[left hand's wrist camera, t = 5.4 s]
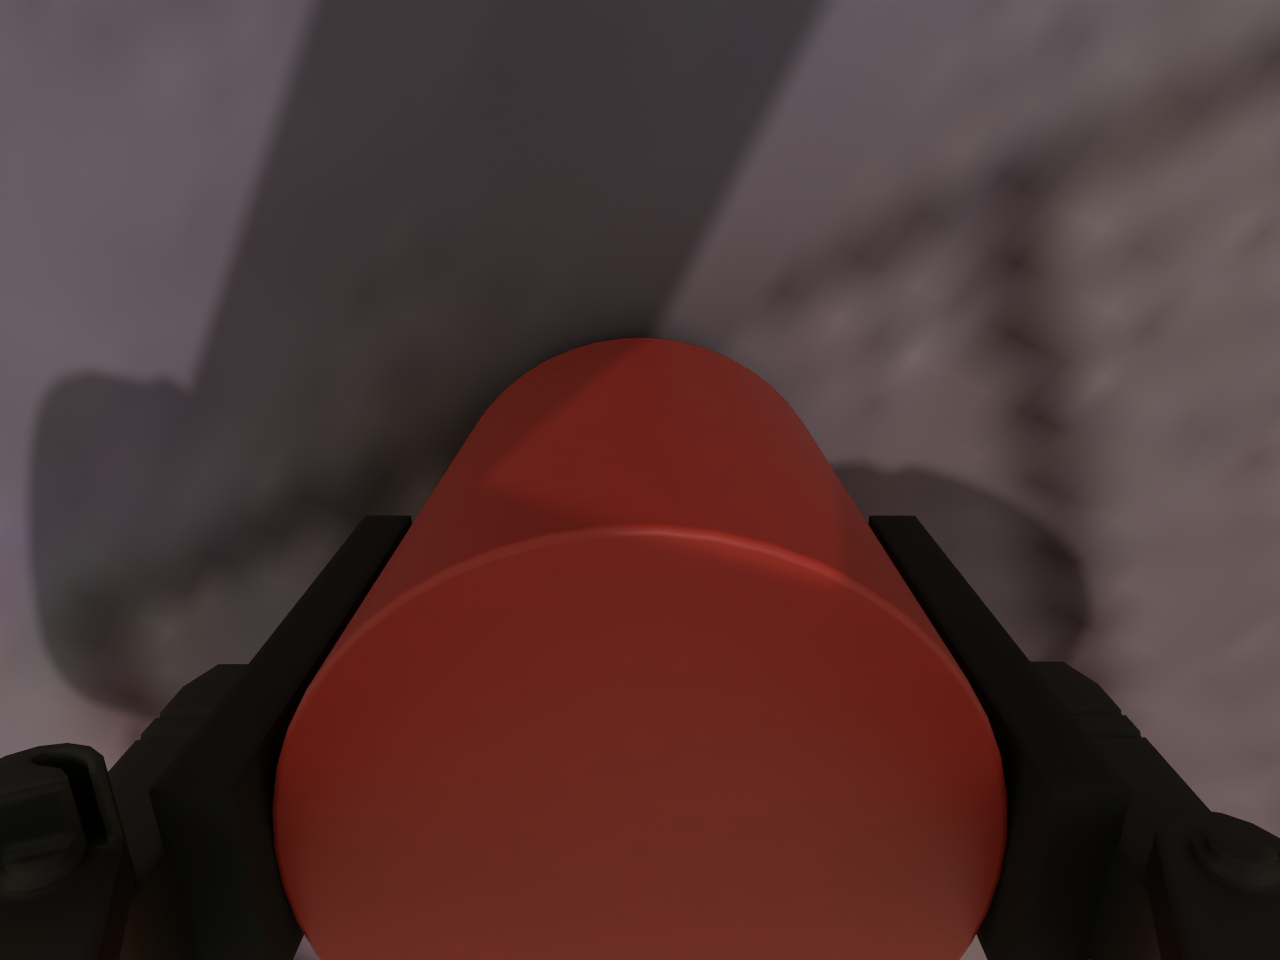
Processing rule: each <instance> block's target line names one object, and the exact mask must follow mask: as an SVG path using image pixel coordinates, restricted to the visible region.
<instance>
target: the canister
mask: <svg viewBox="0 0 1280 960" xmlns="http://www.w3.org/2000/svg"><path fill="white" fill-rule="evenodd" d="M272 814H273V834H274V849H275V854H276V858H277V863H278V867H279V872H280V876H281V881H282V885H283V888H284V890H285V893H286V895H287V898H288V900H289V903H290V906H291V908H292V911H293V913H294V916H295V918H296V920H297V922H298V924H299V926H300V927H301V929H302V931H303V933H304V934H305V936H306V938H307V940H308V941H309V943H310V945H311V947H312V948H313V950H314V952H315V953H316V954H317V956H318V957H319V958H320V960H960V958H961V957H962V955H963V954H964V953H965V951H966V950H967V948H968V947H969V946H970V944H971V943H972V941H973V939H974V937H975V935H976V933H977V931H978V929H979V927H980V925H981V924H982V922H983V920H984V918H985V916H986V914H987V912H988V910H989V907H990V904H991V901H992V898H993V896H994V893H995V890H996V887H997V884H998V881H999V878H1000V875H1001V870H1002V864H1003V858H1004V853H1005V847H1006V841H1007V789H1006V783H1005V777H1004V771H1003V765H1002V759H1001V754H1000V751H999V748H998V745H997V742H996V739H995V737H994V734H993V731H992V728H991V725H990V722H989V719H988V716H987V715H986V713H985V711H984V709H983V707H982V705H981V704H980V702H979V700H978V698H977V696H976V694H975V693H974V691H973V689H972V687H971V685H970V683H969V682H968V680H967V678H966V677H965V675H964V673H963V672H962V670H961V669H960V667H959V666H958V664H957V662H956V661H955V659H954V658H953V656H952V655H951V653H950V652H949V650H948V648H947V647H946V645H945V644H944V642H943V641H942V639H941V638H940V636H939V634H938V633H937V631H936V630H935V628H934V627H933V625H932V623H931V622H930V620H929V619H928V617H927V616H926V614H925V613H924V611H923V609H922V608H921V606H920V605H919V603H918V602H917V600H916V598H915V597H914V595H913V594H912V592H911V591H910V589H909V588H908V586H907V584H906V583H905V581H904V580H903V578H902V577H901V575H900V573H899V572H898V570H897V569H896V567H895V566H894V564H893V563H892V561H891V559H890V558H889V556H888V555H887V553H886V552H885V550H884V549H883V547H882V545H881V544H880V542H879V541H878V539H877V538H876V536H875V534H874V533H873V531H872V530H871V528H870V527H869V525H868V524H867V522H866V520H865V519H864V517H863V516H862V514H861V513H860V511H859V509H858V508H857V506H856V505H855V503H854V502H853V500H852V499H851V497H850V495H849V494H848V492H847V491H846V489H845V488H844V486H843V484H842V483H841V481H840V480H839V478H838V477H837V475H836V474H835V472H834V470H833V469H832V467H831V466H830V464H829V463H828V461H827V460H826V458H825V456H824V455H823V453H822V452H821V450H820V449H819V447H818V445H817V444H816V442H815V441H814V439H813V438H812V436H811V435H810V433H809V431H808V430H807V428H806V427H805V425H804V424H803V422H802V421H801V419H800V418H799V417H798V415H797V414H796V413H795V412H794V410H793V409H792V408H791V406H790V405H789V404H788V402H787V401H786V400H785V399H784V398H783V397H782V396H781V395H780V394H779V393H778V392H777V391H776V390H775V389H774V388H773V387H772V386H771V385H769V384H768V383H767V382H765V381H764V380H763V379H761V378H760V377H759V376H757V375H756V374H755V373H753V372H752V371H751V370H749V369H748V368H746V367H744V366H742V365H740V364H739V363H737V362H735V361H733V360H731V359H730V358H728V357H726V356H723V355H721V354H718V353H716V352H713V351H711V350H708V349H705V348H703V347H699V346H695V345H691V344H687V343H683V342H679V341H674V340H665V339H656V338H622V339H615V340H608V341H602V342H596V343H592V344H589V345H585V346H582V347H578V348H575V349H571V350H569V351H567V352H564V353H562V354H560V355H557V356H555V357H553V358H551V359H548V360H546V361H545V362H543V363H541V364H540V365H538V366H536V367H535V368H533V369H531V370H530V371H528V372H527V373H525V374H524V375H522V376H521V377H520V378H519V379H517V380H516V381H515V382H514V383H513V384H511V385H510V386H509V387H508V388H506V389H505V390H504V391H503V392H502V393H501V394H500V396H499V397H498V398H497V399H496V400H495V401H494V402H493V403H492V404H491V405H490V406H489V407H488V409H487V410H486V411H485V413H484V414H483V416H482V417H481V419H480V420H479V421H478V423H477V424H476V426H475V427H474V429H473V430H472V432H471V433H470V435H469V436H468V438H467V440H466V441H465V443H464V444H463V446H462V447H461V449H460V451H459V452H458V454H457V455H456V457H455V458H454V460H453V461H452V463H451V465H450V466H449V468H448V469H447V471H446V472H445V474H444V476H443V477H442V479H441V480H440V482H439V483H438V485H437V486H436V488H435V490H434V491H433V493H432V494H431V496H430V497H429V499H428V501H427V502H426V504H425V505H424V507H423V508H422V510H421V511H420V513H419V515H418V516H417V518H416V519H415V521H414V522H413V524H412V526H411V527H410V529H409V530H408V532H407V533H406V535H405V536H404V538H403V540H402V541H401V543H400V544H399V546H398V547H397V549H396V551H395V552H394V554H393V555H392V557H391V558H390V560H389V561H388V563H387V565H386V566H385V568H384V569H383V571H382V572H381V574H380V576H379V577H378V579H377V580H376V582H375V583H374V585H373V586H372V588H371V590H370V591H369V593H368V594H367V596H366V597H365V599H364V601H363V602H362V604H361V605H360V607H359V608H358V610H357V611H356V613H355V615H354V616H353V618H352V619H351V621H350V622H349V624H348V626H347V627H346V629H345V630H344V632H343V633H342V635H341V636H340V638H339V640H338V641H337V643H336V644H335V646H334V647H333V649H332V651H331V652H330V654H329V655H328V657H327V658H326V660H325V661H324V663H323V665H322V666H321V668H320V669H319V671H318V672H317V674H316V676H315V677H314V679H313V680H312V682H311V683H310V685H309V686H308V688H307V690H306V692H305V694H304V696H303V698H302V700H301V702H300V704H299V706H298V708H297V710H296V712H295V714H294V716H293V718H292V720H291V722H290V725H289V727H288V729H287V733H286V736H285V740H284V743H283V746H282V750H281V753H280V757H279V760H278V764H277V768H276V777H275V785H274V794H273V802H272Z"/></svg>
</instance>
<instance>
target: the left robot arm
mask: <svg viewBox="0 0 1280 960" xmlns="http://www.w3.org/2000/svg"><path fill="white" fill-rule="evenodd" d="M411 526H412V520H411V516H365V517H364V519H363V520H362V521H361V522H360V524H359V525H358V526H357V527H356V529H355V530H354V531H353V532H352V534H351V535H350V536H349V538H348V539H347V540H346V541H345V543H344V544H343V545H342V546H341V548H340V549H339V550H338V551H337V553H336V554H335V555H334V557H333V558H332V559H331V560H330V562H329V563H328V564H327V565H326V567H325V568H324V569H323V571H322V572H321V573H320V574H319V576H318V577H317V578H316V579H315V581H314V582H313V583H312V584H311V586H310V587H309V588H308V590H307V591H306V592H305V593H304V595H303V596H302V597H301V598H300V600H299V601H298V602H297V603H296V605H295V606H294V607H293V609H292V610H291V611H290V612H289V614H288V615H287V616H286V617H285V619H284V620H283V621H282V622H281V624H280V625H279V626H278V628H277V629H276V630H275V631H274V633H273V634H272V635H271V636H270V638H269V639H268V640H267V641H266V643H265V644H264V645H263V647H262V648H261V649H260V650H259V652H258V653H257V654H256V655H255V657H254V658H253V659H252V660H251V662H250V663H249V664H218V665H217V666H215V667H213V668H212V669H210V670H209V671H207V672H206V673H204V674H202V675H201V676H199V677H198V678H196V679H195V680H193V681H191V682H190V683H188V684H187V685H185V686H184V687H183V688H182V689H181V690H180V691H179V692H178V693H177V694H176V696H175V697H174V698H173V699H172V700H171V701H170V702H169V703H168V705H167V706H166V707H165V708H164V709H163V710H162V711H161V713H160V718H155V719H154V721H153V722H152V723H151V724H150V725H149V726H148V727H147V728H146V730H145V731H144V732H143V733H142V734H141V739H140V740H136V741H135V742H134V743H133V744H132V746H131V747H130V748H129V749H128V750H127V751H126V752H125V753H124V755H123V756H122V757H121V758H120V759H119V760H118V761H117V763H116V764H115V765H114V766H113V767H112V768H111V769H110V770H109V772H107V768H106V764H105V761H104V757H103V756H102V755H101V754H100V753H98V752H97V751H96V750H94V749H93V748H92V747H90V746H84V745H78V744H71V743H63V744H54V745H45V746H38V747H34V748H31V749H28V750H24V751H21V752H17V753H14V754H11V755H7V756H5V757H3V758H1V759H0V960H293V958H294V956H295V954H296V951H297V949H298V947H299V945H300V942H301V940H302V938H303V935H304V933H303V931H302V929H301V927H300V926H299V924H298V922H297V920H296V918H295V916H294V913H293V911H292V908H291V906H290V903H289V900H288V898H287V895H286V893H285V890H284V888H283V885H282V881H281V876H280V872H279V867H278V863H277V858H276V854H275V849H274V834H273V814H272V802H273V794H274V785H275V777H276V768H277V764H278V760H279V757H280V753H281V750H282V746H283V743H284V740H285V736H286V733H287V729H288V727H289V725H290V722H291V720H292V718H293V716H294V714H295V712H296V710H297V708H298V706H299V704H300V702H301V700H302V698H303V696H304V694H305V692H306V690H307V688H308V686H309V685H310V683H311V682H312V680H313V679H314V677H315V676H316V674H317V672H318V671H319V669H320V668H321V666H322V665H323V663H324V661H325V660H326V658H327V657H328V655H329V654H330V652H331V651H332V649H333V647H334V646H335V644H336V643H337V641H338V640H339V638H340V636H341V635H342V633H343V632H344V630H345V629H346V627H347V626H348V624H349V622H350V621H351V619H352V618H353V616H354V615H355V613H356V611H357V610H358V608H359V607H360V605H361V604H362V602H363V601H364V599H365V597H366V596H367V594H368V593H369V591H370V590H371V588H372V586H373V585H374V583H375V582H376V580H377V579H378V577H379V576H380V574H381V572H382V571H383V569H384V568H385V566H386V565H387V563H388V561H389V560H390V558H391V557H392V555H393V554H394V552H395V551H396V549H397V547H398V546H399V544H400V543H401V541H402V540H403V538H404V536H405V535H406V533H407V532H408V530H409V529H410V527H411ZM869 527H870V528H871V530H872V531H873V533H874V534H875V536H876V538H877V539H878V541H879V542H880V544H881V545H882V547H883V549H884V550H885V552H886V553H887V555H888V556H889V558H890V559H891V561H892V563H893V564H894V566H895V567H896V569H897V570H898V572H899V573H900V575H901V577H902V578H903V580H904V581H905V583H906V584H907V586H908V588H909V589H910V591H911V592H912V594H913V595H914V597H915V598H916V600H917V602H918V603H919V605H920V606H921V608H922V609H923V611H924V613H925V614H926V616H927V617H928V619H929V620H930V622H931V623H932V625H933V627H934V628H935V630H936V631H937V633H938V634H939V636H940V638H941V639H942V641H943V642H944V644H945V645H946V647H947V648H948V650H949V652H950V653H951V655H952V656H953V658H954V659H955V661H956V662H957V664H958V666H959V667H960V669H961V670H962V672H963V673H964V675H965V677H966V678H967V680H968V682H969V683H970V685H971V687H972V689H973V691H974V693H975V694H976V696H977V698H978V700H979V702H980V704H981V705H982V707H983V709H984V711H985V713H986V715H987V716H988V719H989V722H990V725H991V728H992V731H993V734H994V737H995V739H996V742H997V745H998V748H999V751H1000V754H1001V759H1002V765H1003V771H1004V777H1005V783H1006V789H1007V841H1006V847H1005V853H1004V858H1003V864H1002V870H1001V875H1000V878H999V881H998V884H997V887H996V890H995V893H994V896H993V898H992V901H991V904H990V907H989V910H988V912H987V914H986V916H985V918H984V920H983V922H982V924H981V925H980V927H979V929H978V931H977V933H976V934H977V937H978V939H979V941H980V943H981V946H982V948H983V950H984V953H985V955H986V957H987V959H988V960H1089V959H1090V960H1280V838H1278V837H1276V836H1275V835H1273V834H1271V833H1269V832H1267V831H1265V830H1264V829H1262V828H1260V827H1258V826H1256V825H1254V824H1253V823H1250V822H1247V821H1244V820H1241V819H1238V818H1235V817H1232V816H1229V815H1226V814H1223V813H1218V812H1211V811H1210V810H1209V809H1208V808H1207V806H1206V805H1205V804H1204V803H1203V802H1202V801H1201V800H1200V799H1199V797H1198V796H1197V795H1196V794H1195V793H1194V792H1193V791H1192V790H1191V788H1190V787H1189V786H1188V785H1187V784H1186V783H1185V782H1184V781H1183V779H1182V778H1181V777H1180V776H1179V775H1178V774H1177V773H1176V772H1175V770H1174V769H1173V768H1172V767H1171V766H1170V765H1169V764H1168V762H1167V761H1166V760H1165V759H1164V758H1163V757H1162V756H1161V755H1160V753H1159V752H1158V751H1157V750H1156V749H1155V748H1154V747H1153V746H1152V744H1151V743H1150V742H1149V741H1148V740H1147V739H1146V738H1141V735H1140V731H1139V730H1138V729H1137V728H1136V726H1135V725H1134V724H1133V723H1132V722H1131V721H1130V720H1129V719H1128V717H1127V716H1126V715H1121V709H1120V708H1119V707H1118V706H1117V705H1116V704H1115V703H1114V702H1113V700H1112V699H1111V698H1110V697H1109V696H1108V695H1107V694H1106V693H1105V691H1104V690H1103V689H1102V688H1101V687H1100V686H1099V685H1098V684H1097V683H1095V682H1094V681H1092V680H1091V679H1089V678H1088V677H1086V676H1084V675H1083V674H1081V673H1080V672H1078V671H1077V670H1075V669H1073V668H1072V667H1070V666H1069V665H1067V664H1066V663H1064V662H1030V661H1029V660H1028V659H1027V657H1026V656H1025V655H1024V653H1023V652H1022V651H1021V650H1020V648H1019V647H1018V646H1017V645H1016V643H1015V642H1014V641H1013V640H1012V638H1011V637H1010V636H1009V634H1008V633H1007V632H1006V631H1005V629H1004V628H1003V627H1002V626H1001V624H1000V623H999V622H998V621H997V619H996V618H995V617H994V615H993V614H992V613H991V612H990V610H989V609H988V608H987V607H986V605H985V604H984V603H983V602H982V600H981V599H980V598H979V596H978V595H977V594H976V593H975V591H974V590H973V589H972V588H971V586H970V585H969V584H968V582H967V581H966V580H965V579H964V577H963V576H962V575H961V574H960V572H959V571H958V570H957V569H956V567H955V566H954V565H953V563H952V562H951V561H950V560H949V558H948V557H947V556H946V555H945V553H944V552H943V551H942V550H941V548H940V547H939V546H938V544H937V543H936V542H935V541H934V539H933V538H932V537H931V536H930V534H929V533H928V532H927V531H926V529H925V528H924V527H923V525H922V524H921V523H920V522H919V520H918V519H917V518H916V517H915V516H869Z"/></svg>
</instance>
